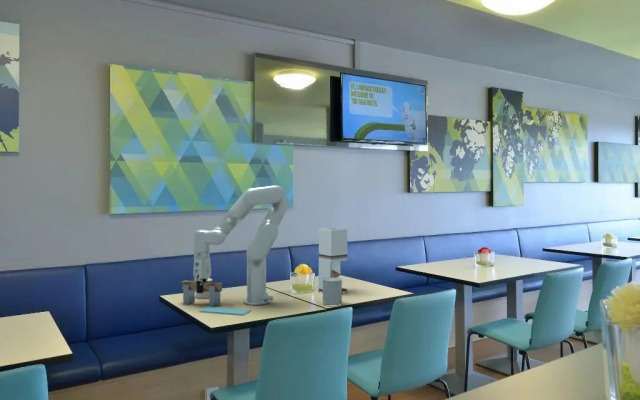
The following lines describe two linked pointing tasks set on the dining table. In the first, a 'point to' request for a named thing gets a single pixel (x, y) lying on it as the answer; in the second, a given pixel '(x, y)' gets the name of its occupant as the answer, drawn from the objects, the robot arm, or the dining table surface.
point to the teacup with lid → (204, 294)
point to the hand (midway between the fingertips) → (201, 291)
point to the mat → (225, 311)
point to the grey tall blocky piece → (331, 253)
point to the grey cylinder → (332, 291)
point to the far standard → (188, 295)
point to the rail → (205, 285)
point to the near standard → (213, 297)
